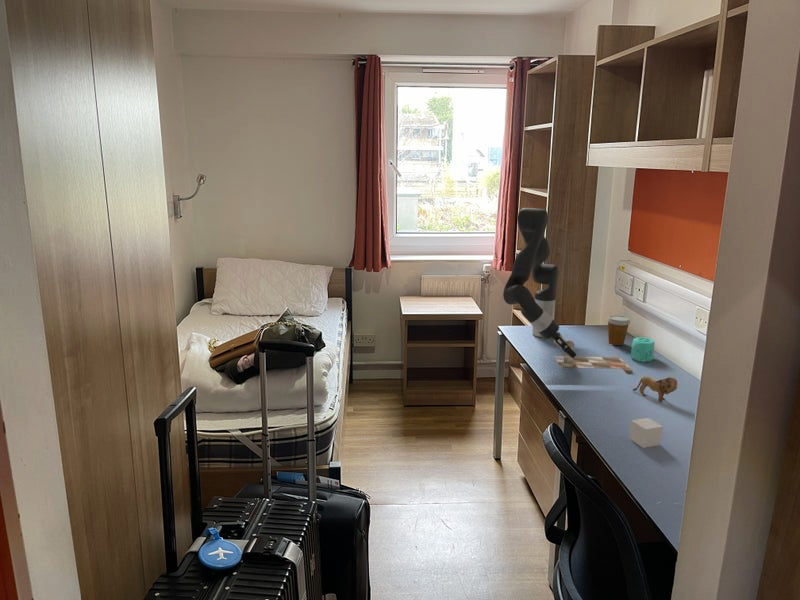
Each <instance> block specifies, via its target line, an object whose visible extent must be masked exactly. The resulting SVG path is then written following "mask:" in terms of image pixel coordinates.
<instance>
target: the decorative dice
mask: <svg viewBox="0 0 800 600" xmlns="http://www.w3.org/2000/svg"><path fill="white" fill-rule="evenodd" d="M630 349H631V351H630V358H631V359H632V360H634V361H637V362H640V361H641V363H648V362H652V361H653V358H654V352H655V341H654V340H653V339H651V338H648V337H635V338H633V340H632V344H631V348H630Z"/></svg>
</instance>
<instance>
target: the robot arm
mask: <svg viewBox="0 0 800 600" xmlns="http://www.w3.org/2000/svg"><path fill="white" fill-rule="evenodd" d="M548 220H549V214H548V211H547V210H546V209H544V208H536V207H535V208H533V207H523V208H520V210H519V211H518V213H517V226H518V229H519V231H520V234H521V236H522V238H523V241H524V244H525V246H523V248H522V249H520V251H518V252H517V254H516V256H515V259H514V261H513V266H512V269H511V273H510V275H509V278H508V280H507V281H506V284H505V286H504V289H503V293H502V296H503V297H502V298H503V300H504V302H505V303H506V304H507V305H510V306H511V305H517V304H518V305H519V307H521V309H520V313H521V315H522V316H523V317H524V318H525V319H526V320H527V321H528V323H530V325H531V326H532V331H531V332H532V333H531V334H532V336H535V337H539V338H543V339H545V340H549V339H550V340H552V342H553V343H554V344H556V345H557V347H559V348H560V349H562V351H563V352H567V353H568V355H569V356H570V357H571V358H574V357H577V354H576V352H575V350H574V351H573V350H572V349H571V347H570V346H568V345H567V342H566V341H567V340H566V339H565V338H564V336H563V335H562V334H561V332H559V330H560V325H559V324H558V323H557V322H556V321H555V320H554V319H555V309H556V298H557V297H556V295H557V285H558V278H559V267H558V266H557V264H549V263H545V262H546V260H548V258H549V256H550V253H551V251H550V245H549V242H548V240H547V238H546V237H545V236H544V234H545V232H546V229H547V225H548ZM531 274H532V279H533V281H534V283H536V284H539V285H547V286H548V287H546V288H545V289H540V290H537V291H536V292H535V293H534V296H533V295H532V292H531V291H530V290H529V289H528V287H526V286H525V283H527V282H528V281H529V279H530V276H531ZM565 345H566V346H567V348H565Z"/></svg>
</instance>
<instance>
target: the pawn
mask: <svg viewBox="0 0 800 600" xmlns="http://www.w3.org/2000/svg"><path fill="white" fill-rule="evenodd" d="M566 342H567V345H568V346H570V347H571V349H572V350H573V351H574V352H575V343H574V341H573V340H570V339H569V340H566ZM565 348H567V346H566V345H565ZM563 352H564V351H563ZM563 355H564V356H563V357H564V360H563V361H562V365H563V366H565V367H573V366H574V363H575V362H574V361H573V358H571V357H570V356H569V355H568V353H567V352H564V353H563Z"/></svg>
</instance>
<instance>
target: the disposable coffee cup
mask: <svg viewBox="0 0 800 600" xmlns="http://www.w3.org/2000/svg"><path fill="white" fill-rule="evenodd" d="M606 321H607V329H608V330H607V331H608V333H607V334H608V336H607V337H608V344H609V345H610V344H612V345H611V346H614V345H618V346H617V347H620V346H619V345H623V344H625V340H626V338H627V337H626V336H627V333H628V329H629V325H630V323H631V321H630V318H629V317H628V316H625V315H617V314H615V315H614V314H612V315H609V316H608V317H607V319H606ZM623 346H624V345H623Z"/></svg>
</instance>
